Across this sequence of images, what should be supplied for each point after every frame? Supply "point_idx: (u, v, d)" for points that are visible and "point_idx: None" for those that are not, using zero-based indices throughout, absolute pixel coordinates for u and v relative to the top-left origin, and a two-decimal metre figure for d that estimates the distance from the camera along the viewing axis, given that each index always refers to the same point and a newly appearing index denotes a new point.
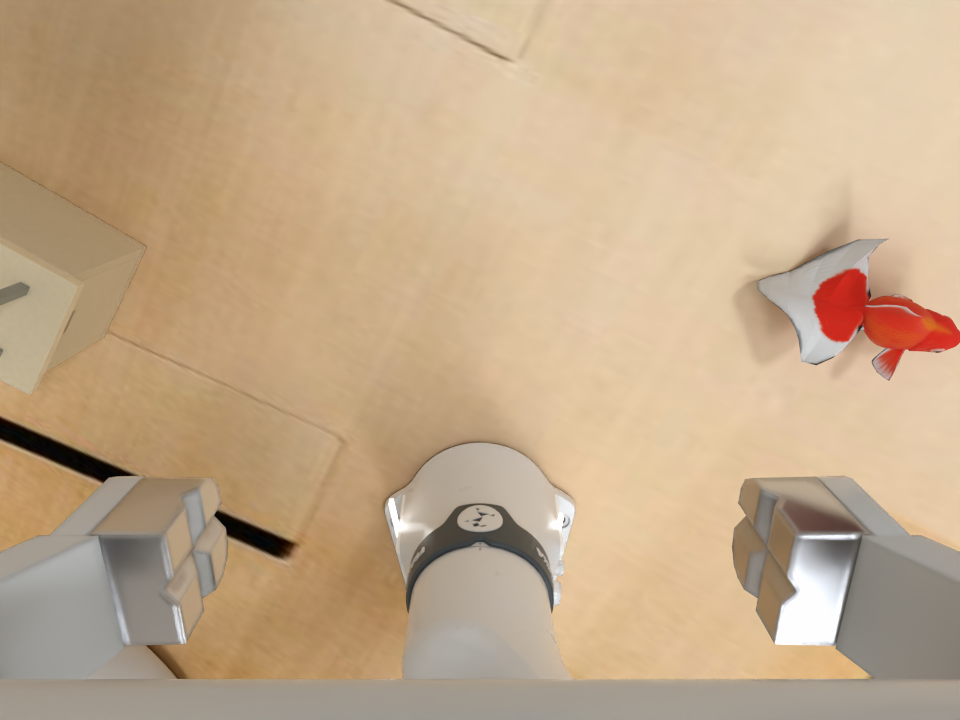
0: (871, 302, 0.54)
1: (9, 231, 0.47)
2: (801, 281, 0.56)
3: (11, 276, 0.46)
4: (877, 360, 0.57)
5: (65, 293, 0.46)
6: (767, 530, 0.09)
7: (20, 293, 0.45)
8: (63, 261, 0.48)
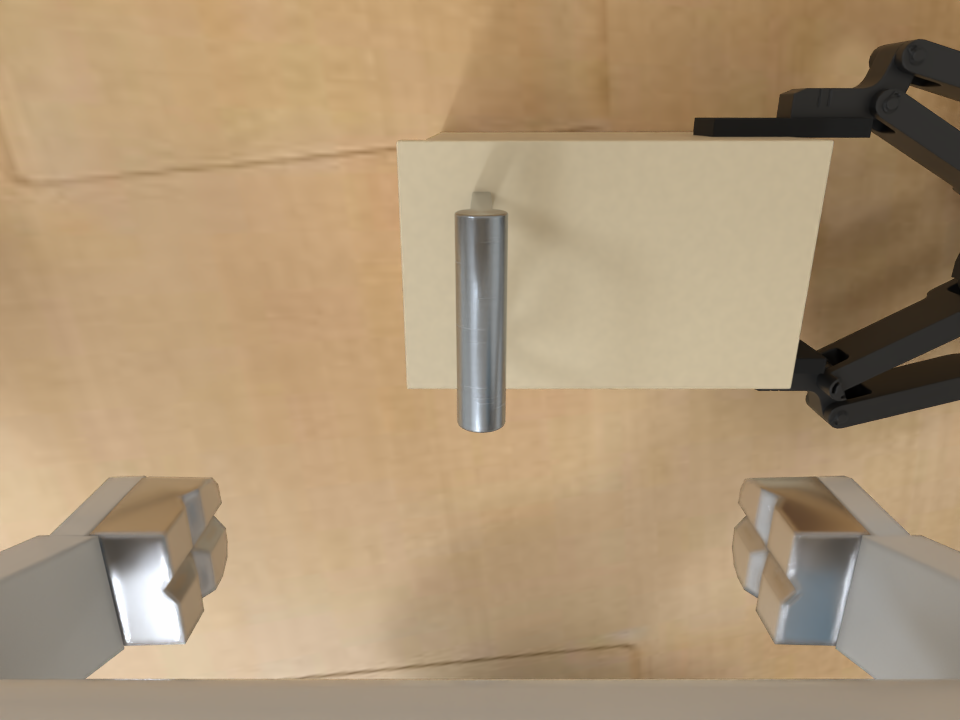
0: None
1: None
2: None
3: (506, 348, 0.27)
4: None
5: (419, 368, 0.27)
6: (767, 530, 0.09)
7: None
8: None
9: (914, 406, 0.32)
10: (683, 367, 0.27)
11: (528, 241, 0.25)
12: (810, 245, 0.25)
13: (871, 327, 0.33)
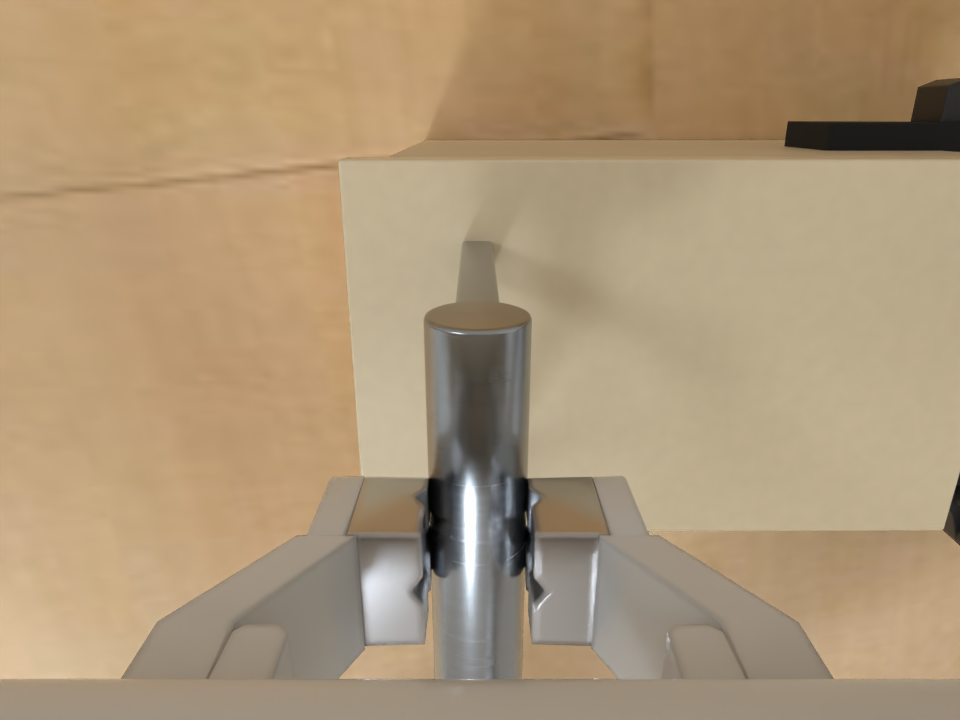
0: None
1: None
2: None
3: None
4: None
5: None
6: None
7: None
8: None
9: None
10: (784, 501, 0.18)
11: (551, 317, 0.16)
12: None
13: None
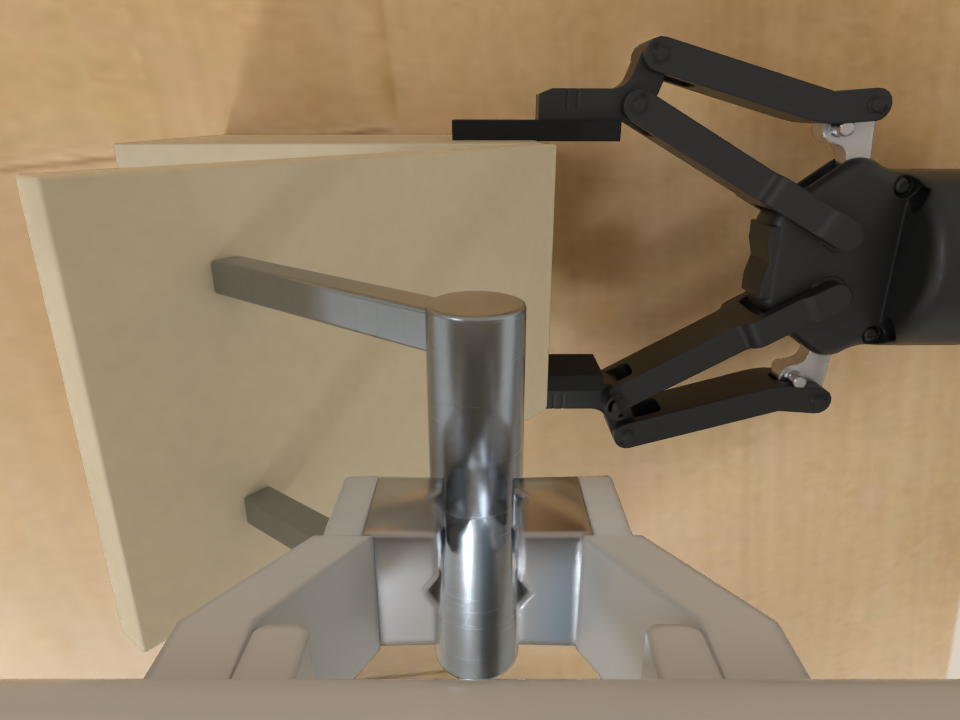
0: None
1: None
2: None
3: (294, 498, 0.16)
4: None
5: (161, 606, 0.14)
6: None
7: (269, 528, 0.15)
8: None
9: (702, 424, 0.30)
10: None
11: (303, 323, 0.16)
12: (549, 256, 0.24)
13: (663, 341, 0.31)
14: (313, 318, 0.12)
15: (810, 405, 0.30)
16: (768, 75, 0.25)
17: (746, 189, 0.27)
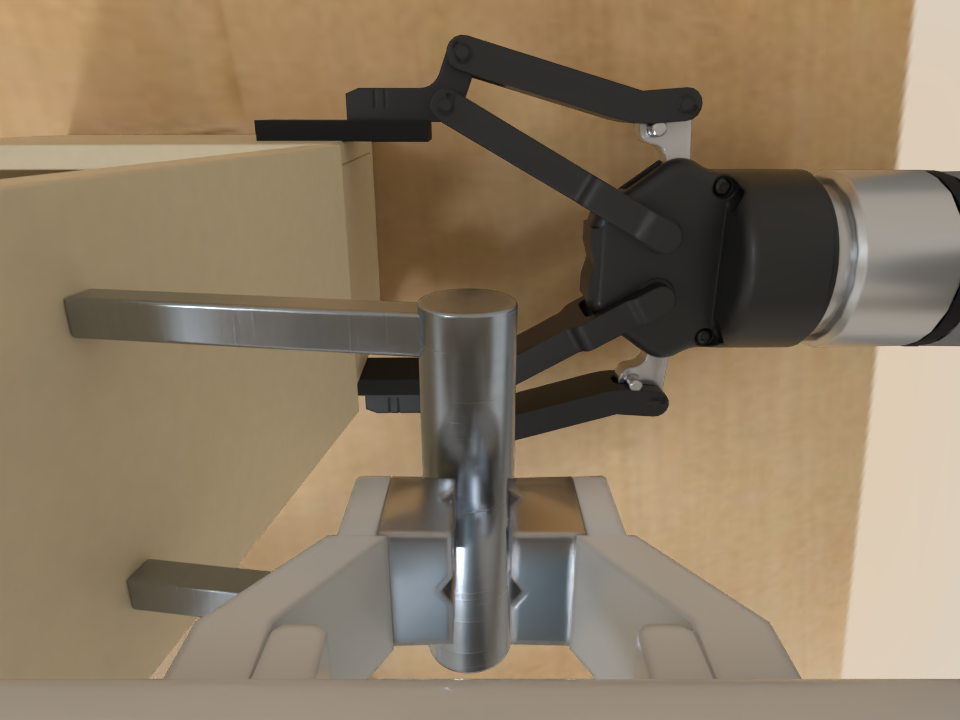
0: None
1: None
2: None
3: None
4: None
5: None
6: None
7: (173, 604, 0.13)
8: None
9: (541, 428, 0.30)
10: (310, 442, 0.21)
11: (161, 360, 0.13)
12: (346, 258, 0.23)
13: None
14: (251, 345, 0.10)
15: (648, 408, 0.30)
16: (574, 74, 0.25)
17: (563, 190, 0.26)
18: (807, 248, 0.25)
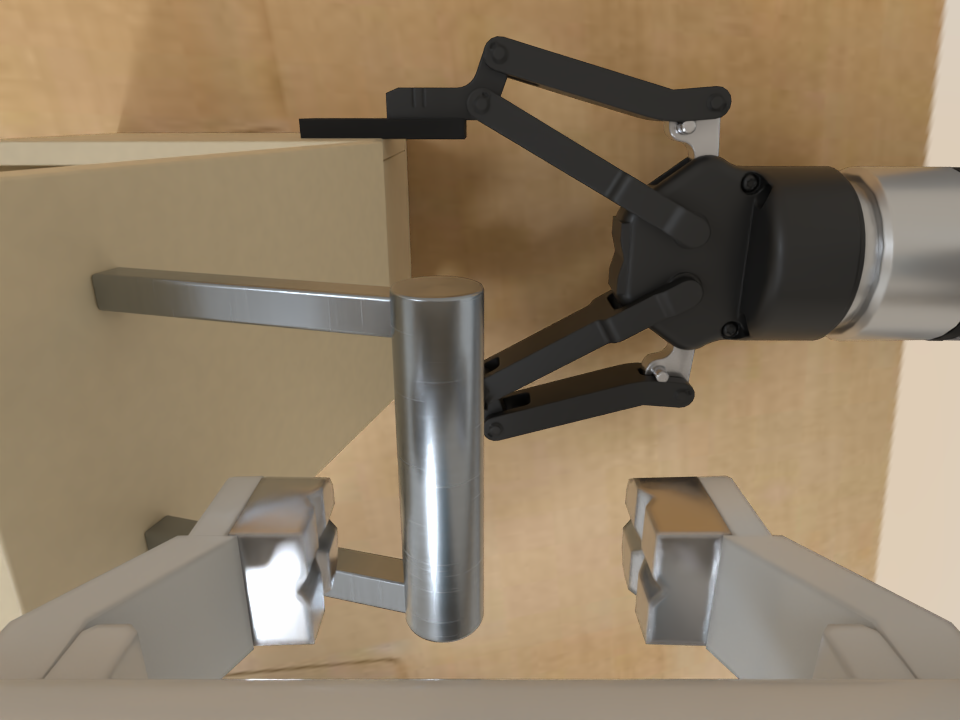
0: None
1: None
2: None
3: None
4: None
5: None
6: None
7: None
8: None
9: (569, 418, 0.31)
10: (340, 424, 0.22)
11: (185, 336, 0.15)
12: (385, 251, 0.24)
13: (534, 336, 0.31)
14: (245, 322, 0.11)
15: (674, 399, 0.30)
16: (606, 74, 0.25)
17: (594, 186, 0.27)
18: (833, 243, 0.25)
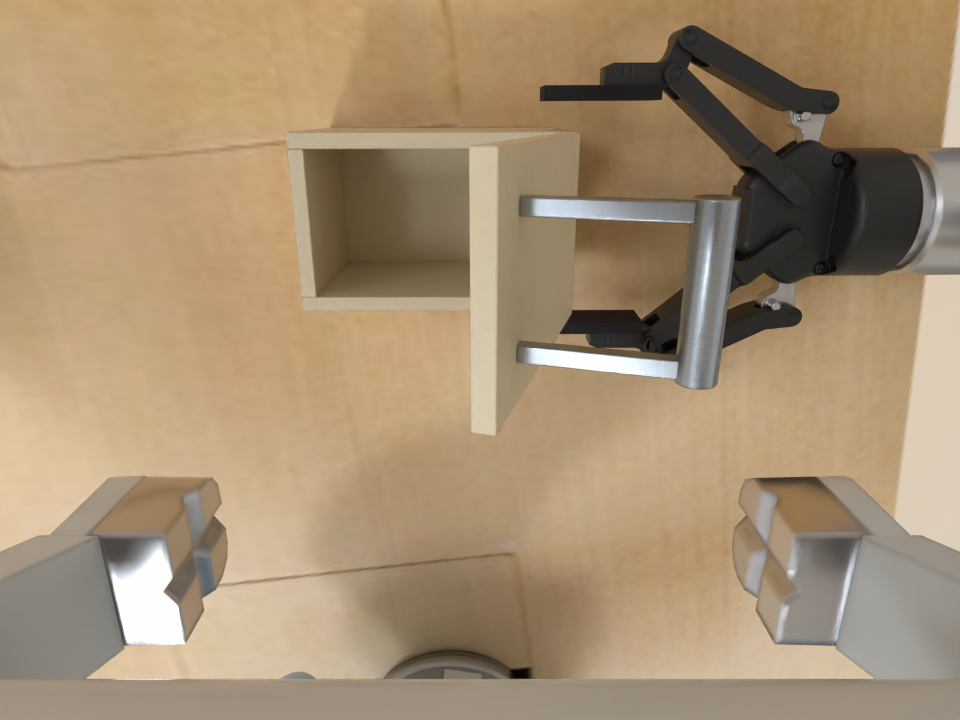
0: None
1: None
2: None
3: None
4: None
5: (500, 407, 0.24)
6: (767, 530, 0.09)
7: (540, 358, 0.25)
8: None
9: None
10: (557, 320, 0.33)
11: (531, 239, 0.26)
12: None
13: (678, 293, 0.43)
14: (609, 218, 0.22)
15: (787, 321, 0.41)
16: (760, 67, 0.36)
17: (737, 148, 0.38)
18: (901, 200, 0.36)
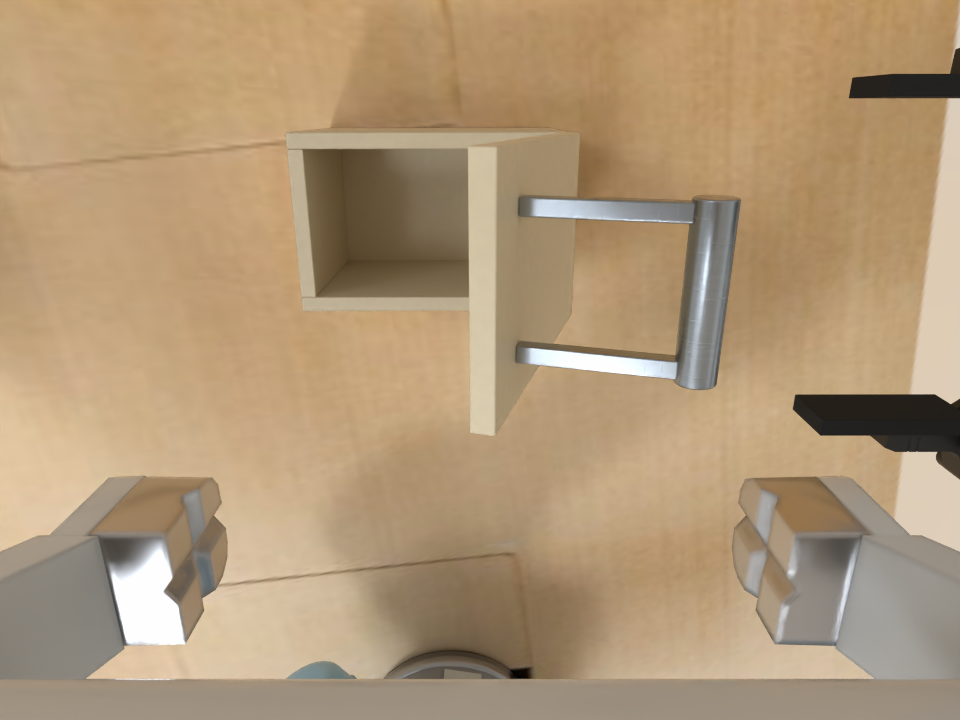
0: None
1: None
2: None
3: None
4: None
5: (499, 407, 0.24)
6: (767, 530, 0.09)
7: (539, 359, 0.25)
8: None
9: None
10: (557, 320, 0.33)
11: (531, 239, 0.26)
12: None
13: None
14: (608, 219, 0.22)
15: None
16: None
17: None
18: None
